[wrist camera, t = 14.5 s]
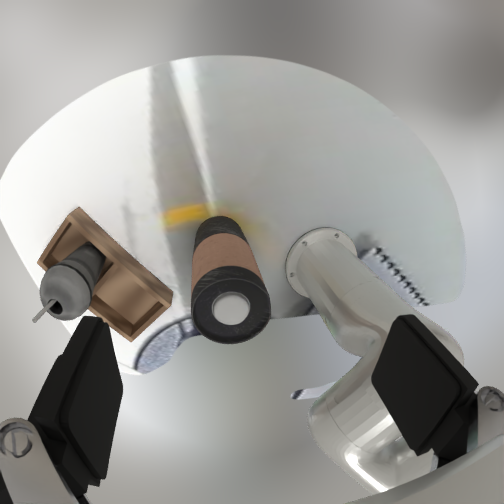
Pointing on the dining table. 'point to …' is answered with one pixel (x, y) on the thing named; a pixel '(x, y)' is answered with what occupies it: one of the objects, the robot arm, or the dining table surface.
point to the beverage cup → (71, 283)
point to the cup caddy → (112, 277)
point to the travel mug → (227, 284)
